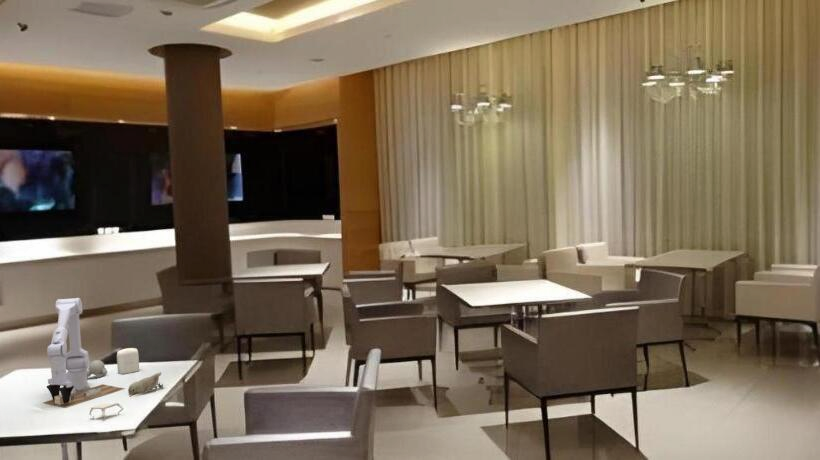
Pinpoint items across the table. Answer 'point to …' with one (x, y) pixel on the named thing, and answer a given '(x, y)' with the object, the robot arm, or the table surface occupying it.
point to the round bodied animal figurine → (96, 369)
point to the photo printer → (127, 361)
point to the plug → (59, 399)
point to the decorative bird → (145, 384)
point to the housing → (87, 392)
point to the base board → (79, 399)
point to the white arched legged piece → (105, 406)
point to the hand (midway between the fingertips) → (61, 401)
